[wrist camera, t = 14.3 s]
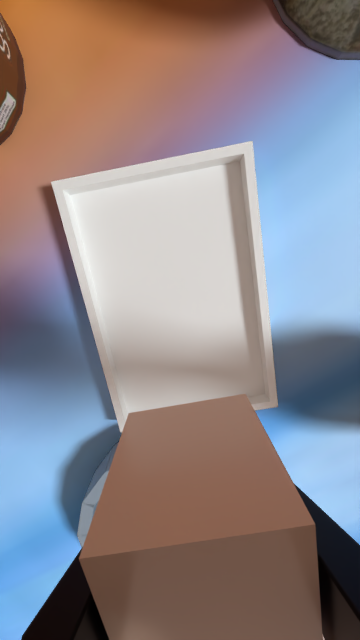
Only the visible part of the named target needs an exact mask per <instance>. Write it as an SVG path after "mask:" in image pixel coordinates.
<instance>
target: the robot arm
mask: <svg viewBox="0 0 360 640" xmlns="http://www.w3.org/2000/svg"><path fill="white" fill-rule="evenodd" d="M293 484H294V483H293ZM294 485H295V484H294ZM295 487H296V489H297V491H298V493H299V495H300V497H301V498H302V500H303V502H304V504H305V506H306V508H307V510H308V512H309V513H310V515H311V517H312V519H313V521H314V523H315V527H316V543H317V558H318V574H319V589H320V605H321V620H322V634H323V636H324V638H325V640H360V545H359V544H358V543H357V542H356V541H355V540H354V539H353V538H352V537H351V536H350V535H348V534H347V533H346V532H345V531H344V530H343V529H342V528H341V527H340V526H339V525H338V524H337V523H336V522H335V521H333V520H332V519H331V518H330V517H329V516H328V515H327V514H326V513H325V512H324V511H323V510H322V509H321V508H320V507H318V506H317V505H316V504H315V503H314V502H313V501H312V500H311V499H310V498H309V497H308V496H307V495H306V494H305V493H303V492H302V491H301V490H300V489H299V488H298V487H297V486H296V485H295ZM82 548H83V547H82ZM81 551H82V549H81V550H80V552H79V553H78V555H77V556H76V558H75V559H74V561H73V562H72V563H71V565H70V566H69V568H68V569H67V571H66V572H65V574H64V575H63V577H62V578H61V580H60V581H59V583H58V584H57V585H56V587H55V588H54V590H53V591H52V593H51V594H50V596H49V597H48V599H47V600H46V602H45V603H44V605H43V606H42V608H41V609H40V610H39V612H38V613H37V615H36V616H35V618H34V619H33V621H32V622H31V624H30V625H29V627H28V628H27V630H26V631H25V632H24V634H23V635H22V639H21V640H109V637H108V635H107V632H106V629H105V627H104V624H103V622H102V619H101V616H100V614H99V611H98V608H97V606H96V603H95V600H94V598H93V595H92V592H91V590H90V587H89V585H88V582H87V579H86V577H85V574H84V571H83V569H82V566H81V563H80V561H79V557H80V554H81Z"/></svg>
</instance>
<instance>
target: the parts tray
mask: <svg viewBox="0 0 360 640" xmlns="http://www.w3.org/2000/svg"><path fill="white" fill-rule="evenodd" d="M51 183H52V187H53V190H54V194H55V198H56V201H57V205H58V208H59V212H60V216H61V219H62V223H63V227H64V230H65V234H66V237H67V241H68V245H69V248H70V252H71V255H72V259H73V263H74V266H75V270H76V273H77V277H78V281H79V284H80V288H81V292H82V295H83V299H84V302H85V306H86V310H87V313H88V317H89V320H90V324H91V328H92V331H93V335H94V338H95V342H96V346H97V349H98V353H99V356H100V360H101V364H102V367H103V371H104V375H105V378H106V382H107V385H108V389H109V393H110V396H111V400H112V403H113V407H114V411H115V414H116V418H117V421H118V425H119V429H120V432H122V431H123V428H124V425H125V422H126V420H127V417H128V414H129V413H132V412H138V411H144V410H150V409H156V408H162V407H168V406H174V405H180V404H186V403H192V402H198V401H204V400H210V399H216V398H222V397H228V396H234V395H240V394H246V396H247V397H248V399H249V401H250V403H251V405H252V407H253V409H254V411H255V410H261V409H267V408H273V407H278V400H277V390H276V380H275V369H274V359H273V349H272V338H271V328H270V318H269V307H268V297H267V286H266V276H265V266H264V255H263V245H262V235H261V224H260V214H259V204H258V193H257V183H256V173H255V162H254V152H253V142H252V141H250V142H245V143H240V144H235V145H230V146H225V147H220V148H215V149H210V150H206V151H201V152H196V153H191V154H186V155H181V156H176V157H171V158H166V159H161V160H156V161H151V162H146V163H141V164H137V165H132V166H127V167H122V168H117V169H112V170H107V171H102V172H97V173H92V174H87V175H82V176H77V177H72V178H67V179H63V180H58V181H53V182H51Z"/></svg>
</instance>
